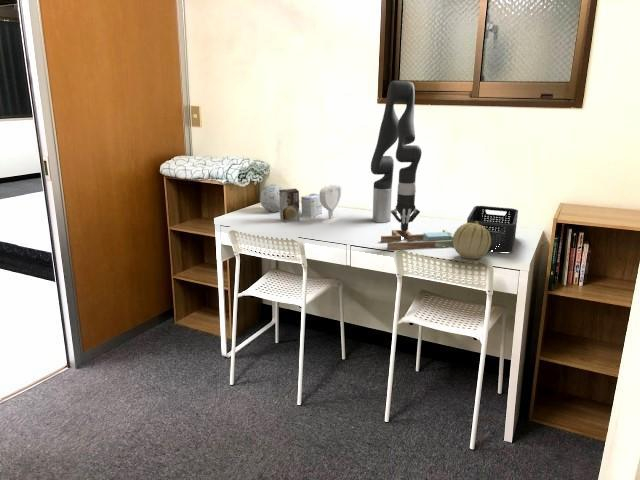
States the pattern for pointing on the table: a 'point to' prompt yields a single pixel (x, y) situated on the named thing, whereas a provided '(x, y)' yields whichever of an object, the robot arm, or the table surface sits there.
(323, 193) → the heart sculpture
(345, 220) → the table surface
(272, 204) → the puzzle ball
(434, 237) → the block
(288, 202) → the coffee box
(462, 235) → the cantaloupe
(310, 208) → the light bulb box
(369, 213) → the table surface
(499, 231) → the storage bin
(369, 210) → the table surface
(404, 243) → the maze
